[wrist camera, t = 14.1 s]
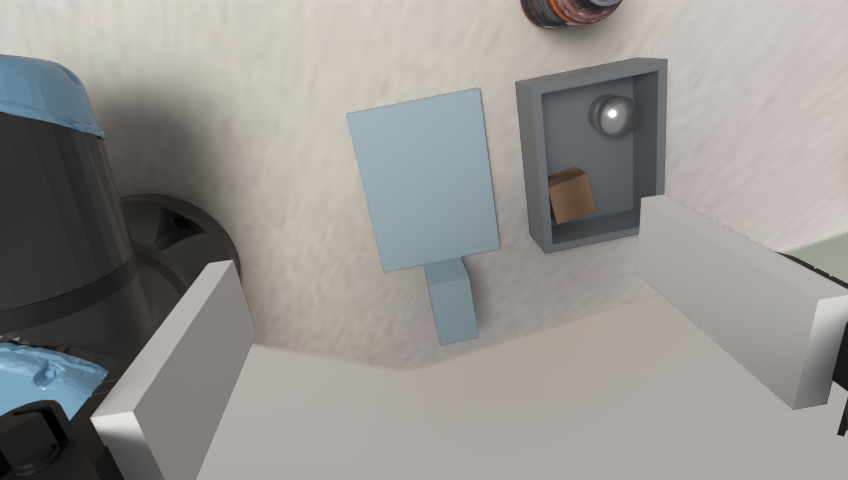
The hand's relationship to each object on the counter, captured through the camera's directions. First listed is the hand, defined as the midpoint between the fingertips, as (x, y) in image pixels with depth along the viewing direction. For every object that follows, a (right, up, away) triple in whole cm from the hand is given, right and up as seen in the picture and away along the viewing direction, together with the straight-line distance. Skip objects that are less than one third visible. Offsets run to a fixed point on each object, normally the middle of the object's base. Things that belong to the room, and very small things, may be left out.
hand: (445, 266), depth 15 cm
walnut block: (+14, +6, +34) cm, 37 cm away
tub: (+15, +10, +33) cm, 38 cm away
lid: (0, +3, +34) cm, 34 cm away
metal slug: (+17, +13, +31) cm, 38 cm away
